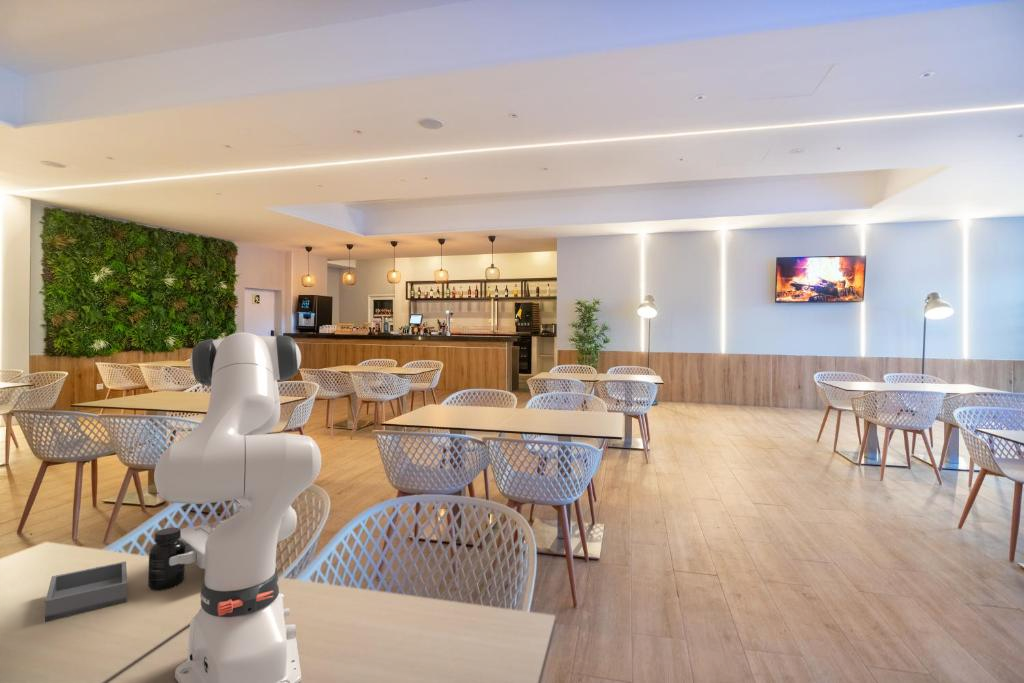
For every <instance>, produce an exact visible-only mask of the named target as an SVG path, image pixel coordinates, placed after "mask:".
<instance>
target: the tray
mask: <svg viewBox="0 0 1024 683" xmlns="http://www.w3.org/2000/svg"><path fill="white" fill-rule="evenodd" d="M127 573H128V572H127V560H126V561H119V562H117V563H112V564H111V563H110V564H107V565H101V566H96V567H91V568H86V569H81V570H76V571H72V572H67V573H60V574H57V575H52V576H51V578H50V582H49V586H48V590H47V593H46V598H45V605H44V609H45V610H44V622H46V623H47V622H50V621H55V620H58V619H62V618H66V617H71V616H76V615H78V614H81V613H86V612H91V611H95V610H98V609H99V610H100V609H102V608H107V607H111V606H116V605H119V604H124V603H127V601H128V575H127Z"/></svg>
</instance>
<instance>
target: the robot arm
mask: <svg viewBox="0 0 1024 683" xmlns="http://www.w3.org/2000/svg"><path fill="white" fill-rule="evenodd" d="M301 363H302V353H301V350H300V348H299V346H298V344H297V343H296V340H295V339H294V338H293V337H291V336H289V335H280V334H277V335H276V336H274V335H257V334H254V333H251V332H244V331H241V332H235V333H232V334H229V335H228V336H226V337H224V338H223V337H222V338H217V339H214V338H209V339H205V340H202V341H199V342H198V343H197V344H196V345H195V346H194V347H193V348H192V350H191V354H190V358H189V366H190V371H191V373H192V375H193V377H194V380H195V381H196V382H198V383H199V384H200V385H202V386H204V387H205V386H206V387H207V386H208V387H210V397H209V403H208V407H207V410H206V414H205V416H204V418H203V419H202V421H201V422H200V423H199V424H198V425H197V426H196V428H194V429H193V430H192V431H191V432H190V433H189V434H187V436H185V437H183V438H182V439H180V440H178V441H177V442H175V443H172V444H170V446H168V447H167V448H166V449H165V450H164V451H163V453H162V454H160V457H159V458H158V460H157V462H156V465H155V468H154V473H153V480H154V485H155V488H156V490H157V492H158V493H159V495H160V496H161V497H162V498H163V499H164V500H165V501H166V502H168V503H172V504H173V503H174V504H186V505H187V504H191V505H193V504H194V505H203V504H204V505H205V504H210V503H211V504H213V503H219V502H221V503H222V502H228V501H234V502H236V503H237V504H239V505H240V506H242V507H243V508H242V509H241V510H239V511H238V513H236V514H234V515H232V516H230V517H229V518H226V519H225V520H224V519H223V520H221V521H218V522H217V524H216V525H215V527H211V526H210V525H207V524H200V525H195V526H190V527H185V528H180V529H181V533H180V534H181V537H180V538H179V539H181V540H183V541H184V542H185V554H180V555H178V554H175V555H171V556H169V557H168V564H169V565H170V566H173V565H176V564H185V565H186V564H192V563H194V564H195V565H197V566H198V568H200V569H203V570H204V579H203V581H202V583H201V589H200V606H201V607H200V609H199V610H198V612H197V613H196V614H195V615H194V617H193V618H192V619H191V620H190V622H189V632H188V633H189V634H188V647H187V648H188V649H187V660H185V661H184V662H182V663H181V664H180V665H178V666H177V667H176V668H175V671H174V678H175V680H176V681H177V682H178V683H298V682H299V681H300V680H301V681H302V671H301V665H300V657H299V652H298V651H299V648H298V643H297V626H296V624H295V623H292V624H286V621H285V618H288V617H290V614H291V613H290V608H289V607H288V608H284V599H285V598H284V594H282V592H280V588H279V585H280V578H279V572H278V571H279V569H278V568H277V567H276V566H277V565H276V562H277V560H276V559H277V546H278V543H279V542H281V541H283V540H286V539H287V538H289V537H290V536H291V535H293V533H294V532H295V530H296V528H297V523H298V515H297V511H296V509H294V508H293V507H292V504H293V502H294V501H295V500H296V499H297V498H298V497H299V496H300V495H301V494H302V493H304V491H305V490H307V489H309V487H311V486H312V484H314V483H315V481H316V479H317V478H318V475H319V474H320V473H321V472H320V471H321V468H322V453H321V450H320V447H319V446H318V444H317V442H316V440H315V439H314V438H312V437H311V436H309V435H304V434H297V433H286V432H279V433H270V432H272V431H273V430H274V428H276V427H277V425H278V424H279V422H280V418H281V400H280V399H281V398H280V390H279V385H278V381H281V382H284V381H286V380H289V379H292V378H294V377H295V376H296V375H297V374H298V372H299V371H298V370H299V369H300V366H301Z"/></svg>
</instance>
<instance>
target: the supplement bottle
mask: <svg viewBox="0 0 1024 683" xmlns="http://www.w3.org/2000/svg"><path fill="white" fill-rule="evenodd" d="M181 529H182V528H180V527H166V528H163V529H160V530H157V531H156V532H155V533H154V540H153V542H154V543H153V544H152V545H151V546H150V547H149V549H148V567H147V568H148V570H147V571H148V574H147V586H148V588H149V589H150V590H152V591H165V590H169V589H173V588H175V586H176V587H178V586H180V584H182V583H183V582H184V580H185V572H186V571H185V570H186V568H185V567H186V564H176V565H173V566H170V565H169V564H168V557H169V556H171V555H175V554H178V555H180V554H185V542H184V541H183V540H181V539H179V538H180V537H181V534H180V533H181Z"/></svg>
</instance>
